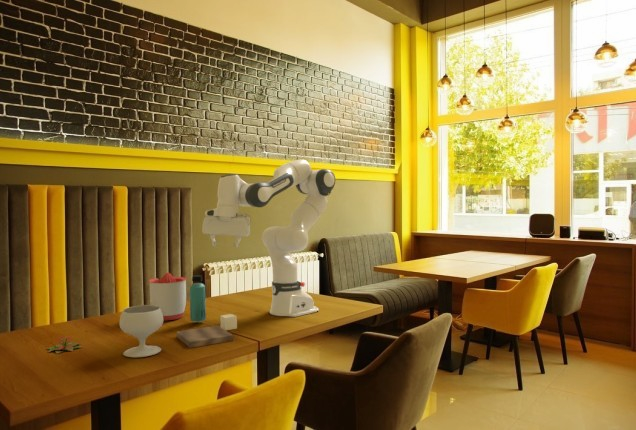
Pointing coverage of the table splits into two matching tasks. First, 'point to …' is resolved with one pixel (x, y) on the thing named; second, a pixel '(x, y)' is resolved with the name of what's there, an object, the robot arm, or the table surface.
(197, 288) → the beverage bottle
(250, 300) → the table surface
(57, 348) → the lily flower
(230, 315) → the off-white cube
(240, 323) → the table surface
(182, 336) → the walnut base
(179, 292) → the citrus juicer
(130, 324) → the chalice
